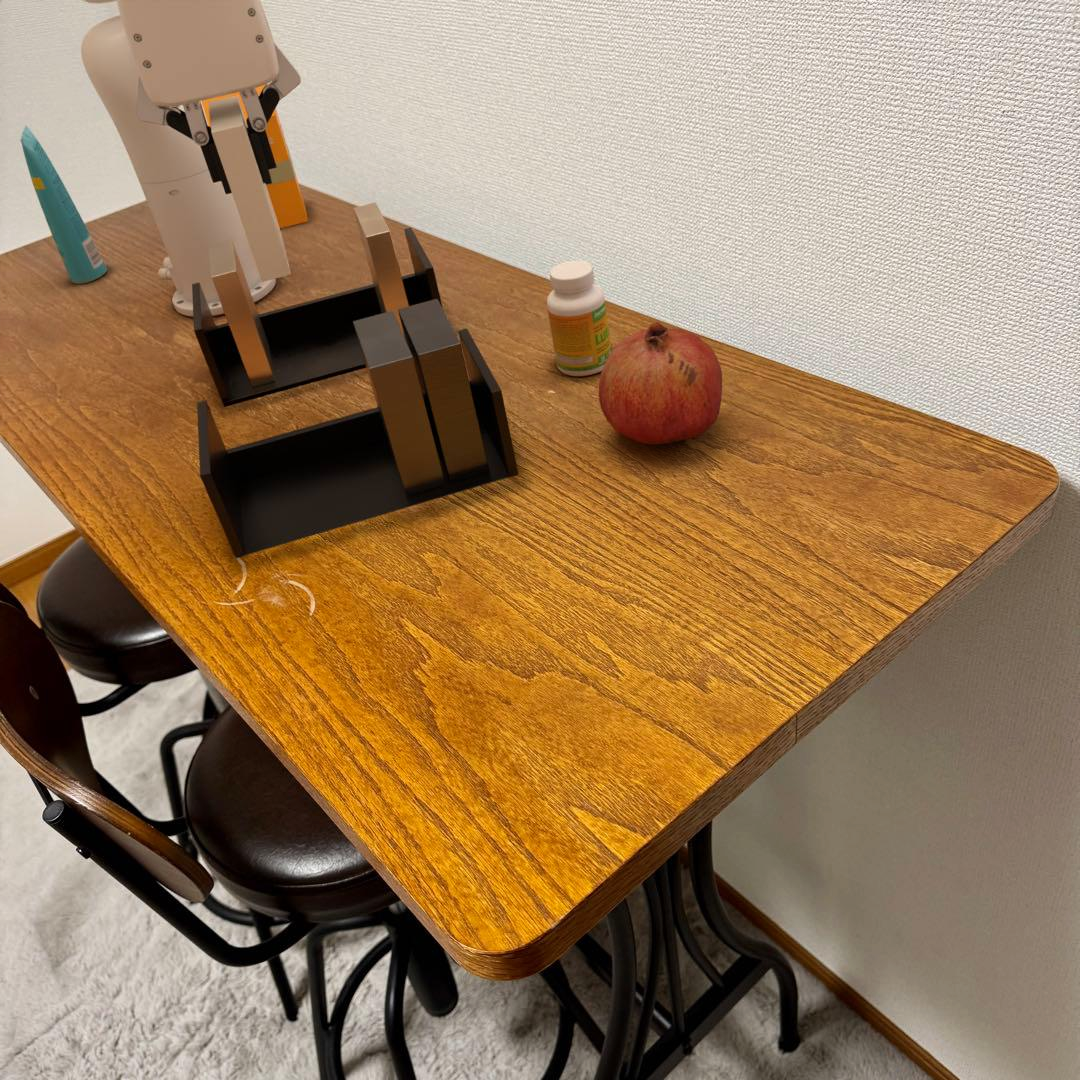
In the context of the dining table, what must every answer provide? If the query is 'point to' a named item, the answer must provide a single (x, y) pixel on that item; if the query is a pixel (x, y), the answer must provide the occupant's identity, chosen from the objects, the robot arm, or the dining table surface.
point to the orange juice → (277, 170)
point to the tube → (62, 215)
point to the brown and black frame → (302, 318)
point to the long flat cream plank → (248, 188)
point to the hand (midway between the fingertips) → (247, 181)
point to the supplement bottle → (578, 319)
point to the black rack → (368, 440)
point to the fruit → (661, 386)
